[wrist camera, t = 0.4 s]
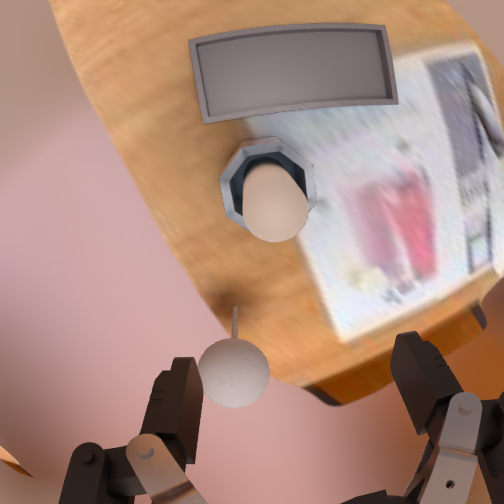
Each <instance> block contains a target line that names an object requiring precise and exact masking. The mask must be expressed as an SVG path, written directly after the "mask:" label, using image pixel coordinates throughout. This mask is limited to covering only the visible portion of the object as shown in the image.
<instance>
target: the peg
mask: <svg viewBox="0 0 504 504" xmlns="http://www.w3.org/2000/svg"><path fill="white" fill-rule="evenodd" d="M307 217H308V202H307V199H306V197H305V195H304V193H303V192H302V191H301V189H300V188H299V187H298V185H297V184H296V182H295V181H294V180H293V178H292V177H291V176H290V174H289V173H288V172H287V170H286V169H285V168H284V166H283V165H282V164H281V163H280V162H279V161H278V160H277V159H275V158H273V157H269V156H260V157H257V158H255V159H253V160H252V161H250V162H249V163H248V165H247V166H246V168H245V170H244V175H243V219H244V222H245V225H246V226H247V228H248V229H249V231H250V232H251V233H252V234H253V235H255V236H256V237H258V238H259V239H262V240H264V241H268V242H281V241H285V240H288V239H290V238H292V237H294V236H295V235H296V234H298V233H299V232H300V231H301V229H302V228H303V227H304V225H305V223H306V221H307Z"/></svg>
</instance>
